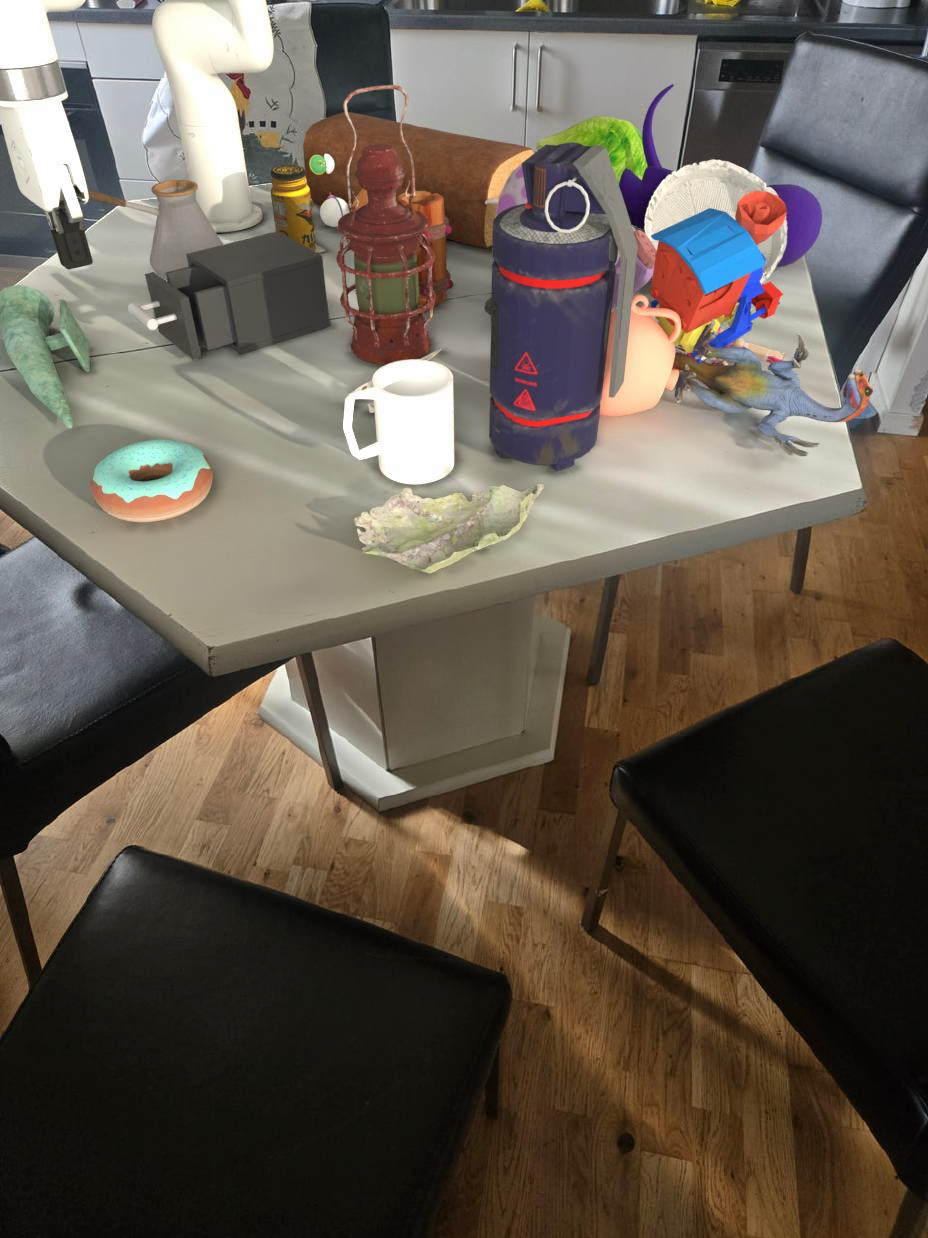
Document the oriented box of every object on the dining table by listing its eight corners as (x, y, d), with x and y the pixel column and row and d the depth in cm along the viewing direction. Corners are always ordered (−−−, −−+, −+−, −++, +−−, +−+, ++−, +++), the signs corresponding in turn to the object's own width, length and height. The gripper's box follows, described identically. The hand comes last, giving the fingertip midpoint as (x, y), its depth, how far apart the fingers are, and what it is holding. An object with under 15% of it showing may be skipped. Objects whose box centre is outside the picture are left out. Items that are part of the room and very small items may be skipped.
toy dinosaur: (759, 324, 87) (922, 378, 93) (682, 284, 106) (821, 332, 111) (710, 433, 92) (866, 479, 98) (644, 377, 111) (779, 418, 116)
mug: (462, 294, 130) (462, 184, 120) (443, 317, 124) (441, 203, 114) (370, 282, 133) (361, 174, 123) (347, 303, 128) (336, 192, 118)
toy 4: (798, 334, 107) (682, 286, 108) (785, 368, 105) (667, 319, 106) (772, 372, 114) (664, 326, 115) (760, 405, 112) (649, 359, 113)
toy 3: (602, 222, 132) (811, 252, 123) (643, 49, 127) (863, 68, 119) (624, 258, 151) (806, 286, 143) (660, 110, 147) (850, 130, 138)
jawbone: (377, 415, 104) (376, 399, 103) (345, 405, 106) (343, 390, 105) (456, 363, 116) (456, 348, 115) (425, 356, 118) (425, 341, 117)
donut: (212, 525, 89) (204, 492, 86) (87, 534, 87) (75, 500, 85) (219, 461, 97) (213, 429, 95) (106, 468, 96) (96, 436, 93)
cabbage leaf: (548, 558, 88) (425, 541, 96) (550, 481, 86) (425, 470, 94) (459, 591, 76) (327, 568, 84) (459, 501, 74) (323, 487, 82)
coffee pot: (222, 257, 141) (203, 154, 130) (239, 284, 133) (220, 176, 123) (81, 280, 134) (50, 172, 124) (91, 309, 127) (58, 197, 116)
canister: (471, 459, 97) (472, 160, 77) (512, 409, 105) (522, 126, 85) (593, 488, 93) (628, 180, 73) (625, 433, 101) (665, 142, 81)
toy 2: (626, 137, 130) (540, 81, 104) (709, 269, 128) (642, 245, 103) (537, 219, 139) (438, 186, 114) (613, 343, 138) (531, 338, 112)
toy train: (630, 318, 107) (653, 214, 93) (737, 267, 110) (774, 158, 96) (682, 376, 103) (713, 277, 89) (790, 321, 106) (837, 217, 93)
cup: (334, 464, 97) (324, 379, 90) (433, 435, 101) (430, 352, 94) (365, 502, 92) (357, 415, 85) (468, 471, 96) (467, 385, 89)
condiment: (326, 251, 142) (317, 170, 134) (277, 262, 139) (265, 180, 131) (306, 237, 147) (296, 158, 139) (258, 248, 143) (245, 167, 135)
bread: (362, 183, 167) (356, 102, 158) (538, 225, 150) (542, 137, 141) (305, 205, 158) (295, 121, 149) (485, 253, 141) (487, 161, 132)
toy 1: (329, 153, 149) (345, 145, 142) (348, 229, 154) (365, 225, 147) (298, 159, 147) (313, 152, 141) (318, 236, 152) (334, 233, 146)
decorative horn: (60, 401, 97) (63, 268, 116) (-37, 431, 97) (-18, 292, 116) (91, 449, 103) (89, 314, 122) (-1, 477, 102) (12, 338, 121)
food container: (667, 312, 123) (655, 331, 130) (805, 275, 123) (786, 296, 130) (627, 175, 123) (617, 200, 130) (764, 139, 124) (747, 166, 131)
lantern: (367, 376, 111) (345, 105, 91) (330, 338, 119) (301, 80, 99) (453, 354, 115) (450, 90, 95) (412, 319, 123) (401, 68, 103)
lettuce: (533, 80, 145) (499, 178, 151) (652, 118, 136) (611, 221, 142) (571, 109, 157) (538, 199, 163) (683, 145, 149) (644, 239, 154)
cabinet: (240, 354, 116) (227, 281, 110) (200, 324, 123) (185, 253, 116) (330, 326, 122) (322, 255, 116) (287, 299, 129) (277, 230, 122)
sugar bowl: (570, 425, 100) (657, 451, 101) (615, 305, 91) (709, 334, 92) (574, 381, 110) (653, 406, 110) (615, 269, 101) (700, 296, 102)
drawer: (164, 369, 111) (149, 308, 106) (130, 340, 117) (114, 281, 112) (280, 333, 119) (271, 274, 113) (242, 307, 125) (233, 250, 119)
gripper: (-35, 75, 93) (23, 253, 106) (11, 101, 85) (68, 292, 97) (37, 66, 97) (85, 240, 109) (88, 90, 88) (134, 276, 100)
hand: (77, 264), depth 103 cm, fingers closed
